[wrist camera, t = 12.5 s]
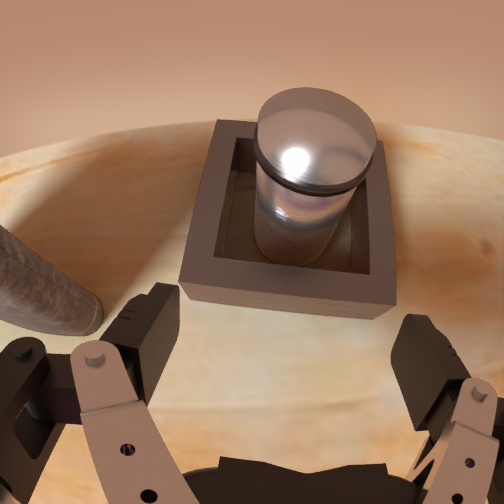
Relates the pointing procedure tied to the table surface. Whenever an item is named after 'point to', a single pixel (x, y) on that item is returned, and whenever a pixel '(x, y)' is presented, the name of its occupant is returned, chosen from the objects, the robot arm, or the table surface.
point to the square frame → (281, 276)
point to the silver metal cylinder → (307, 170)
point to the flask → (42, 294)
